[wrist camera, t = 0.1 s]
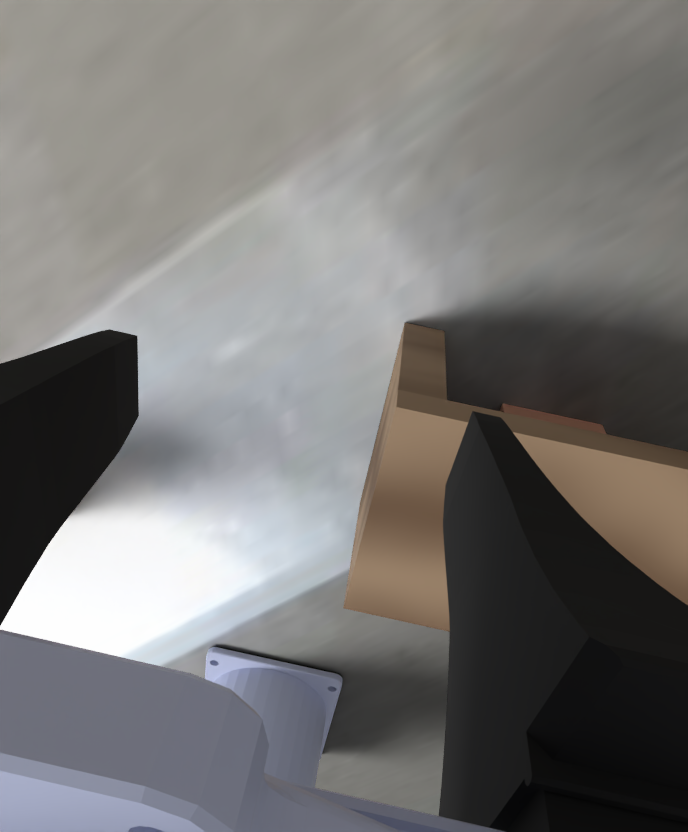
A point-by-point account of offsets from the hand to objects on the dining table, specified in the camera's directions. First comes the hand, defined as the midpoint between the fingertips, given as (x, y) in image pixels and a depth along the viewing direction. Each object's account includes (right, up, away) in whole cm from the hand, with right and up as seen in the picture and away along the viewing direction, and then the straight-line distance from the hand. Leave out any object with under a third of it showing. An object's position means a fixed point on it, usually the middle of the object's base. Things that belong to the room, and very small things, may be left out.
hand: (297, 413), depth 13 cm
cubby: (+9, -2, +12) cm, 15 cm away
